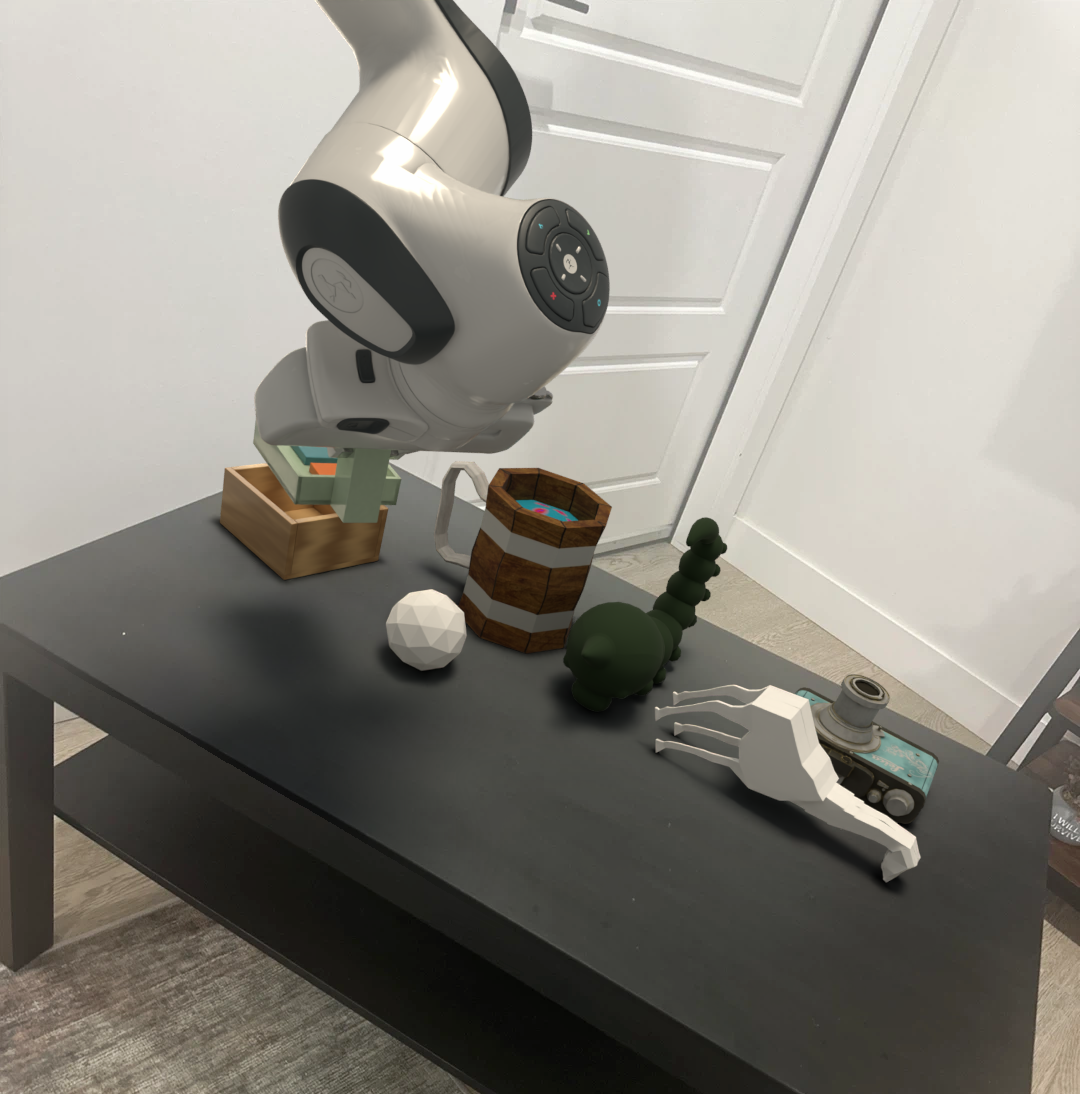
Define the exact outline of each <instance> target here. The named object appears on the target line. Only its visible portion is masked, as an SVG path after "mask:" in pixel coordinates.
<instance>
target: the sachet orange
mask: <svg viewBox="0 0 1080 1094" xmlns="http://www.w3.org/2000/svg"><path fill="white" fill-rule="evenodd" d="M336 466H337V464H336V463H310V468H309V471H310V473H311V474H312V475H335V472H336Z"/></svg>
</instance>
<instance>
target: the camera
mask: <svg viewBox="0 0 1080 1094" xmlns="http://www.w3.org/2000/svg"><path fill="white" fill-rule="evenodd" d="M840 688H841V691H840V692H839V694H838V697H837V698H836V700H833V699H831V698H828V697H827V696H825V695H823V694H821V693H819V692H818V691H816V690H814V689H812V688H810V687H800V688H798V689H797V690H796V691H795V693H794V694H795V695H798V696H801V697H803V698H806V699H809V704H810V708H811V713H812V717H813V722H814V726H815V730H816V734H817V737H818V741H819V744H820V745H821V747H822V748H823V749H824V751H825V752H826V753H827V755H828V756H829V757H830V760H831V763H832V765H833V768H834V771H835V772H836V774H837V776H838V778H839V779H838V781H837V782H836V783H838V784H839V785H841V786H842V787H844V788H845V789H847V790H849V791H850V792H852V793H853V794H855V795H854V796H855V797H857V798H859V799H860V800H862V801H864V804H866V805H868V806H870V807H871V808H873V809H875V810H877V811H879V812H881V813H883V814H885V815H886V816H888V817H889V818H890V819H892V820H893V821H894V822H896V823H899V824H903V825H907V824H910V823H912V822H914V821H915V819H916V818H917V817H918V815H919V813H920V812H921V811H922V809H923V808H924V806H925V804H926V801H927V797H928V795H929V791H930V789H931V787H932V783H933V781H934V778H935V775H936V772H937V770H938V768H939V763H940V761H939V757H938V756H937V755H936V754H935V753H934V752H932V751H930V750H929V749H927V748H925V747H922V746H921V745H919V744H917V743H915V742H913V741H911V740H909V739H908V738H906V737H903V736H902V735H900V734H898V733H895V732H894V731H892V730H890V729H888V728H886V727H884V726H883V725H880V724H879V723H877V722H875V721H874V719H875V718H876V716H877V715H878V713H879V711H880V710H883V709H885V708H887V706H888V704H889V703H890V701H891V696H890V693H889V692H888V690H887V689H886V688H885V687H884V686H883V685H882V684H880V683H879V682H878V681H876V680H874V679H872V678H870V677H868V676H865V675H861V674H857V673H850V674H847V675H845V676H844V678H843V679H842V682H841V684H840Z"/></svg>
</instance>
